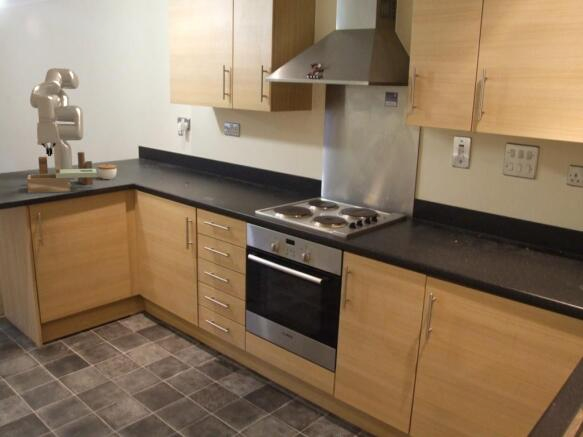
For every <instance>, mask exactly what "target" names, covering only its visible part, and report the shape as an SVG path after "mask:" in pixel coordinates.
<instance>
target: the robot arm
mask: <svg viewBox="0 0 583 437" xmlns="http://www.w3.org/2000/svg"><path fill="white" fill-rule="evenodd" d="M79 84H80V80H79V76H78V75H77V73H75V71H74V70H72V69H70V68H57V67H55V68H50V69H48V70H47V71H46V75H45V78H44V82H41V83H39V84H37V85H36V86H34V87H33V89H32V91H31V94H30V97H29V103H30V106H31V107H32V108H34V109H37V115H38V122H37V123H36V135H37V136H36V138H37V142H36V143H37V145H40V146H42V147H43V148H45V152H46V153H45V154H46V155H47V157H52V155H53V158H54V174H56V170H55V169H56V166H60V169H74V168H73V156H72V147H71V145H70V144H69V143H68V142H67V141H82V139H83V138H84V119H83V118H84V117H83V116H84V114H83V109H82V108H81V107H80V106H79V105H70V104H69V103H70V102H69V101H70V100H69V99H70V98H69V96H68V94H67V93H66V91H64V90H76V89H78V88H79ZM58 122H60V123H58ZM61 122H63V123H61ZM66 122H67V123H66ZM48 143H50V145H49V146H48ZM71 179H72V178H70V180H71Z"/></svg>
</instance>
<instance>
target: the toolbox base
mask: <svg viewBox="0 0 583 437" xmlns="http://www.w3.org/2000/svg"><path fill="white" fill-rule="evenodd" d="M26 182H27V192H28V194H29V193H34V194H35V193H54V192H56V193H58V192H59V193H61V192H71V179H70V178H56V173H48V174H42V175H40V174H28V175H27V179H26Z"/></svg>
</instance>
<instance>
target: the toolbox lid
mask: <svg viewBox="0 0 583 437" xmlns="http://www.w3.org/2000/svg"><path fill="white" fill-rule="evenodd" d="M55 170H56V173H55V174H56V178H71V179H75V178H77V179H78V178H80V177H93V178H98V170H97V168H92V169H79V168H73V169H60V166H56V169H55V168H54V171H55Z"/></svg>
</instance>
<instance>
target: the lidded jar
mask: <svg viewBox="0 0 583 437" xmlns="http://www.w3.org/2000/svg"><path fill="white" fill-rule="evenodd" d="M117 169H118V168H117V165H116V164H109V162H107V163H105V164H100V165H97V173H98V175H99V177H100V178H101V179H102V180H104V179H110V180H114V178H115V177H116V175H117Z"/></svg>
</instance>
